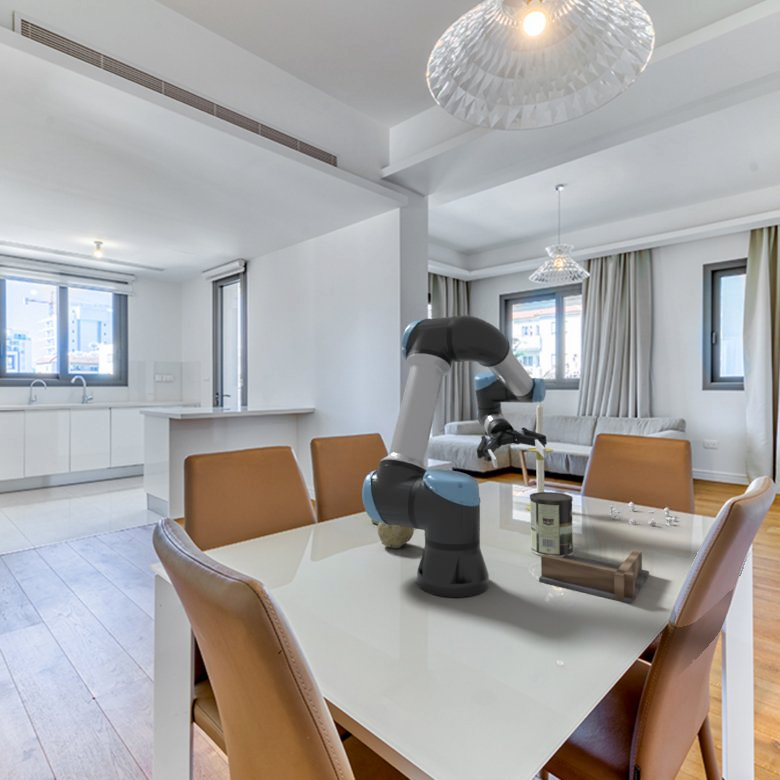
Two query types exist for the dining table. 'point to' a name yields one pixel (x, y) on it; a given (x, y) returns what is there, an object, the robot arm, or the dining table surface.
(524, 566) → the dining table surface
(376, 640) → the dining table surface
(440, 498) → the robot arm
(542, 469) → the candle
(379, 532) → the coral
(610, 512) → the game piece set
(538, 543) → the coffee can
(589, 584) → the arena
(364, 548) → the dining table surface
